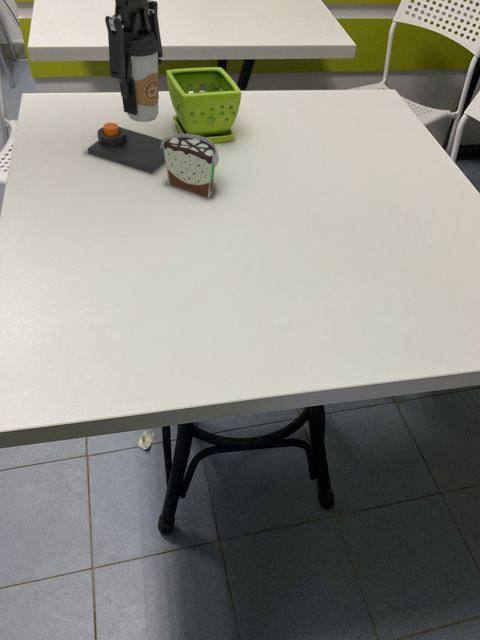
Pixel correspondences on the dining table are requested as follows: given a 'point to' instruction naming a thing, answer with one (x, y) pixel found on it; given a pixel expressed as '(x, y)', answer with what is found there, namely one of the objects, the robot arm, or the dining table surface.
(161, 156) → the dark grey flat block
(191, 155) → the food container
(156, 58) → the coffee cup
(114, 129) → the button
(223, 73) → the flower pot
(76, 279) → the dining table surface
